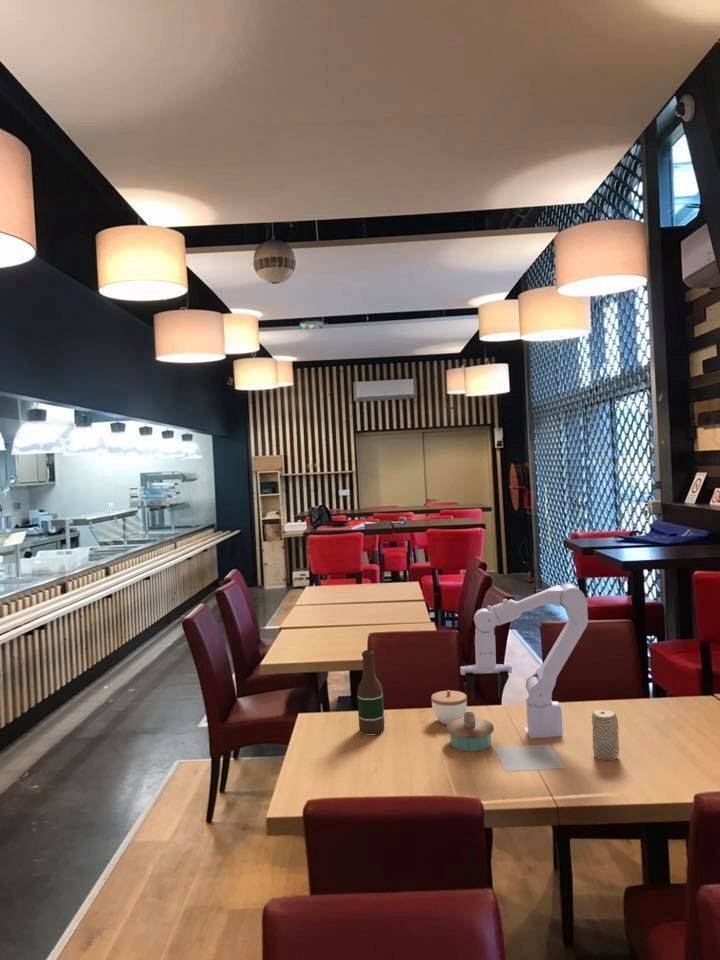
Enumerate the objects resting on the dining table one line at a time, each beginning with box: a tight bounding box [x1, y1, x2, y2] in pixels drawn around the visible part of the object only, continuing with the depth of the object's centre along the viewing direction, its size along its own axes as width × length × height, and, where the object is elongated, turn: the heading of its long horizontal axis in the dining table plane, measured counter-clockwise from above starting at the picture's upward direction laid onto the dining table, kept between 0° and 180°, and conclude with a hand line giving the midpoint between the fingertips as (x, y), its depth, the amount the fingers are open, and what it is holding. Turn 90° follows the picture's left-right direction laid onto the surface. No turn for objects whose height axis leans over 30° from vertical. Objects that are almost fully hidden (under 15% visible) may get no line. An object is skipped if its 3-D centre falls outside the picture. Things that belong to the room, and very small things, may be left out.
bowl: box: [449, 733, 492, 752], centre depth 198 cm, size 11×11×4 cm
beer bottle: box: [356, 649, 385, 735], centre depth 212 cm, size 8×8×24 cm
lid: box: [446, 711, 495, 738], centre depth 197 cm, size 13×13×4 cm
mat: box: [493, 744, 566, 773], centre depth 186 cm, size 15×15×1 cm
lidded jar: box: [430, 689, 468, 726], centre depth 217 cm, size 11×11×9 cm
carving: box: [591, 709, 620, 761], centre depth 184 cm, size 6×8×12 cm
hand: (486, 698), depth 205 cm, fingers open, 7 cm apart
